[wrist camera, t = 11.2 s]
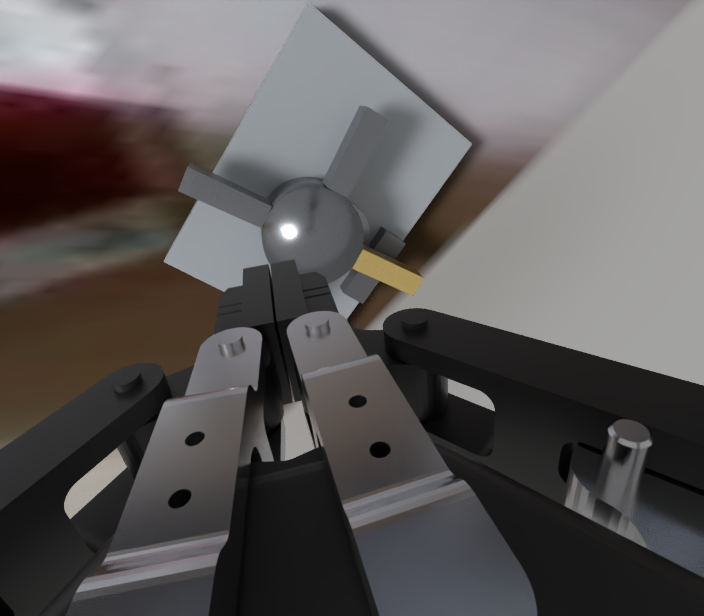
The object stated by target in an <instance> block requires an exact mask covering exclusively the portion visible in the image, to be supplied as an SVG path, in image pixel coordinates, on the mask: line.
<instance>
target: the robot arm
mask: <svg viewBox="0 0 704 616" xmlns="http://www.w3.org/2000/svg"><path fill="white" fill-rule="evenodd" d="M270 266H271V273H270V268H269V265H268V264H265V265H260V266H255V267H249V268H244V269H243V285H242V286H237V287H232V288H228V289H227V290H226V291H225V292H224V293H223V294H222V295H221V296H220V297H219V304H218V311H217V319H216V326H215V334H214V335H213V336H211V337H210V338H208V339H207V340H206V341H205V342H204V343H203V344H202V345H201V347H200V349H199V352H198V356H197V359H196V362H195V365H193V366H191V367H189V368H187V369H184V370H182V371H179V372H177V373H174V374H172V375H169V376H167V377H165V374H164V372H163V369H162V368H161V367H160V366H159V365H156V364H153V363H139V364H134V365H130V366H127V367H124V368H121V369H119V370H117V371H115V372H113V373H111V374H109V375H108V376H106V377H105V378H103V379H102V380H100V381H99V382H97V383H96V384H95V385H93V386H92V387H90V388H89V389H87V390H86V391H84V392H83V393H82V394H80V395H79V396H77V397H76V398H74V399H73V400H71V401H70V402H69V403H67V404H66V405H64V406H63V407H61V408H60V409H58V410H57V411H56V412H54V413H53V414H51V415H50V416H48V417H47V418H45V419H44V420H43V421H41V422H40V423H38V424H37V425H35V426H34V427H32V428H31V429H30V430H28V431H27V432H25V433H24V434H22V435H21V436H19V437H18V438H17V439H15V440H14V441H12V442H11V443H9V444H8V445H6V446H5V447H4V448H2V449H1V450H0V616H704V386H703V385H699V384H696V383H692V382H689V381H685V380H681V379H678V378H674V377H670V376H667V375H663V374H660V373H656V372H652V371H649V370H645V369H642V368H638V367H634V366H631V365H627V364H623V363H620V362H616V361H613V360H609V359H606V358H601V357H598V356H595V355H591V354H587V353H584V352H580V351H577V350H573V349H569V348H566V347H562V346H558V345H555V344H551V343H548V342H544V341H541V340H537V339H533V338H529V337H526V336H523V335H519V334H515V333H512V332H508V331H504V330H501V329H497V328H494V327H490V326H487V325H483V324H479V323H476V322H472V321H468V320H465V319H461V318H458V317H454V316H450V315H447V314H443V313H440V312H436V311H432V310H428V309H421V308H420V309H419V308H414V309H405V310H401V311H398V312H396V313H393V314H392V315H390V316H389V317H387V318H386V320H385V321H384V323H383V330H360V329H356V328H353V327H350V325H349V323H348V321H347V320H346V318H345V317H344V316H343V315H341V314H339V312H338V309H337V307H336V304H335V301H334V299H333V296H332V294H331V291H330V288H329V286H328V283H327V280H326V278H325V277H324V276H322V275H321V274H319V273H317V272H310V273H305V274H300V275H299V274H298V270H297V266H296V262H295V259H292V260H287V261H281V262H276V263H271V264H270ZM271 275H272V277H271ZM289 377H290V380H289ZM448 379H451V380H454V381H456V382H459V383H462V384H464V385H467V386H470V387H472V388H475V389H477V390H480V391H482V392H483V393H485V394H486V395H487V396H488V397H489V398H490V399H491V401H492V402H493V404H494V407H495V411H492V410H490V409H487V408H484V407H482V406H479V405H477V404H474V403H472V402H469V401H467V400H464V399H462V398H459V397H457V396H454V395H452V394H449V393H448ZM290 381H291V386H292V390H293V394H294V399H295V402H296V401H301V400H302V404H303V407H304V413H305V417H306V422H307V426H308V430H309V433H310V437H311V440H312V444H313V447H314V449H313V450H311V451H309V452H307V453H305V454H302V455H300V456H298V457H296V458H294V459H291V460H287V461H285V426H284V421H283V415H284V410H283V405H284V404H288V403H293V402H292V395H291V387H290ZM116 448H117V449H118V450H119V452H120V454H121V456H122V458H123V460H124V462H125V464H126V466H127V468H126V469H125V470H124V471H123V472H122V473H121V474H119V475H118V476H117V477H116V478H115V479H114V480H113V481H112V482H111V483H110V484H108V485H107V486H106V487H105V488H104V489H103V490H102V491H101V492H100V493H99V494H97V495H96V496H95V497H94V498H93V499H92V500H91V501H90V502H89V503H88V504H86V505H85V506H84V507H83V508H82V509H81V510H80V511H79V512H78V513H77V514H76V515H74V516H73V517H72V518H71V519H69V517H68V516H67V514H66V513H65V510H64V501H65V498H66V495H67V493H68V492H69V490H70V489H71V487H72V486H73V485H74V484H75V483H76V482H77V481H78V480H80V479H81V478H82V477H83V476H84V475H85V474H87V473H88V472H89V471H90V470H91V469H92V468H94V467H95V466H96V465H97V464H98V463H99V462H101V461H102V460H103V459H104V458H105V457H107V456H108V455H109V454H110V453H111V452H112V451H114V450H115V449H116Z"/></svg>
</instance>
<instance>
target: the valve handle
mask: <svg viewBox="0 0 704 616" xmlns="http://www.w3.org/2000/svg"><path fill="white" fill-rule="evenodd" d="M387 121H388V119H387V118H385V117H383V116H382V115H380V114H379V113H377V112H375V111H374V110H372V109H371V108H369V107H367V106H359V108H358V110H357V112H356V114H355V116H354V118H353V120H352V122H351V124H350V126H349V128H348V130H347V132H346V134H345V136H344V138H343V140H342V142H341V144H340V147H339V149H338V151H337V153H336V155H335V157H334V159H333V161H332V163H331V165H330V167H329V169H328V171H327V173H326V175H325V177H324V179H323V180H322V179H318V178H314V177H299V178H294V179H291V180H288V181H286V182H284V183H282V184H281V185H279V186H278V187H277V188H275V189H274V190H273V191H272V192H271V194H270V195H269V196H268V198H265V197H263V196H261V195H259V194H257V193H255V192H252V191H250V190H248V189H246V188H244V187H242V186H240V185H238V184H236V183H233V182H231V181H229V180H227V179H225V178H223V177H221V176H219V175H217V174H215V173H212V172H210V171H208V170H206V169H204V168H202V167H200V166H198V165H196V164H194V163H191V162H190V164H189V165H188V167H187V169H186V172H185V174H184V177H183V179H182V182H181V184H180V187H179V190H178V191H179V192H181V193H184V194H186V195H188V196H190V197H192V198H195V199H197V200H199V201H201V202H204V203H206V204H208V205H210V206H213V207H215V208H217V209H219V210H222V211H224V212H226V213H228V214H231V215H233V216H235V217H237V218H240V219H242V220H244V221H246V222H249V223H251V224H253V225H255V226H258V227H260V229H261V237H262V244H263V249H264V253H265V256H266V258H267V260H268V262H269V264H271V263H276V262H281V261H287V260H292V259H295V262H296V266H297V270H298V274H299V275H300V274H305V273H310V272H317V273H319V274H321V275H322V276H324V277H325V278H326V280H327V283H331V282H333V281H335V280H337V279H339V278H341V277H342V276H343V275H345V274H346V273H347V272H348V271H350V270H351V269H354V270H356V271H359V272H361V273H363V274H365V275H368V276H370V277H372V278H374V279H377V280H379V281H381V282H383V283H386V284H388V285H390V286H392V287H395V288H397V289H399V290H401V291H403V292H406V293H408V294H410V295H414V294H415V292H416V291H417V289H418V287H419V286H420V284H421V282H422V281H423V279H424V278H423V277H422V276H421V275H420V273H419V272H418V271H417V270H416V269H414V268H412V267H410V266H408V265H406V264H404V263H402V262H400V261H397V260H395V259H393V258H391V257H389V256H387V255H385V254H383V253H381V252H379V251H376V250H374V249H372V248H370V247H369V244H370V228H369V224H368V221H367V219H366V217H365V216H364V214H363V213H362V212H361V211H360V210H359V209H358V208H357V207H356V206H355V205H354V204H353V203H352V202H350V201H348V200H347V198H348V197H349V195H350V193H351V191H352V189H353V187H354V186H355V184H356V182H357V180H358V178H359V176H360V174H361V172H362V170H363V168H364V166H365V164H366V162H367V160H368V158H369V156H370V154H371V153H372V151H373V149H374V147H375V145H376V143H377V141H378V139H379V137H380V135H381V133H382V131H383V129H384V127H385V125H386V123H387ZM346 197H347V198H346Z"/></svg>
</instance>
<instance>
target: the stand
mask: <svg viewBox="0 0 704 616" xmlns="http://www.w3.org/2000/svg"><path fill="white" fill-rule="evenodd" d="M359 106H367V107H369V108H371V109H372V110H374V111H375V112H377V113H379V114H380V115H382V116H383V117H385V118H387V119H388V121H387V123H386V125H385V127H384V129H383V131H382V133H381V135H380V137H379V139H378V141H377V143H376V145H375V147H374V149H373V151H372V153H371V154H370V156H369V158H368V160H367V162H366V164H365V166H364V168H363V170H362V172H361V174H360V176H359V178H358V180H357V182H356V184H355V186H354V187H353V189H352V191H351V193H350V195H349V197H348V198H347V197H346V198H347V200H348V201H350V202H352V203H353V204H354V205H355V206H356V207H357V208H358V209H359V210H360V211H361V212H362V213H363V214H364V216H365V217H366V219H367V221H368V224H369V228H370V244H369V247H370V248H372V249H374V250H376V251H379V252H381V253H383V254H385V255H387V256H389V257H391V258H393V259H396V257H397V256H398V254H399V253H400V252H401V250H402V249H403V247H404V246H405V245H406V244H405V243H404V242H403V240H404V239H405V237H406V236H407V234H408V233H409V232H410V230H411V229H412V227H413V226H414V225H415V223H416V222H417V221H418V219H419V218H420V216H421V215H422V214H423V212H424V211H425V209H426V208H427V207H428V205H429V204H430V202H431V201H432V200H433V198H434V197H435V195H436V194H437V193H438V191H439V190H440V188H441V187H442V186H443V184H444V183H445V181H446V180H447V179H448V177H449V176H450V174H451V173H452V172H453V170H454V169H455V167H456V166H457V165H458V163H459V162H460V160H461V159H462V158H463V156H464V155H465V153H466V152H467V151H468V149H469V148H470V146H471V145H472V143H471V142H470V141H468V140H467V139H466V138H465V137H464V136H463V135H461V134H460V133H459V132H458V131H457V130H456V129H455V128H453V127H452V126H451V125H450V124H449V123H448V122H446V121H445V120H444V119H443V118H442V117H441V116H440V115H438V114H437V113H436V112H435V111H434V110H433V109H432V108H430V107H429V106H428V105H427V104H426V103H425V102H423V101H422V100H421V99H420V98H419V97H418V96H417V95H415V94H414V93H413V92H412V91H411V90H410V89H408V88H407V87H406V86H405V85H404V84H403V83H402V82H400V81H399V80H398V79H397V78H396V77H395V76H393V75H392V74H391V73H390V72H389V71H388V70H387V69H385V68H384V67H383V66H382V65H381V64H380V63H378V62H377V61H376V60H375V59H374V58H373V57H372V56H370V55H369V54H368V53H367V52H366V51H365V50H363V49H362V48H361V47H360V46H359V45H358V44H357V43H355V42H354V41H353V40H352V39H351V38H350V37H349V36H347V35H346V34H345V33H344V32H343V31H342V30H340V29H339V28H338V27H337V26H336V25H335V24H334V23H332V22H331V21H330V20H329V19H328V18H327V17H325V16H324V15H323V14H322V13H321V12H320V11H319V10H317V9H316V8H315V7H314V6H313V5H312V4H310V3H308V4H307V5H306V7H305V8H304V10H303V12H302V14H301V15H300V17H299V19H298V21H297V23H296V24H295V26H294V28H293V30H292V32H291V33H290V35H289V37H288V39H287V40H286V42H285V44H284V46H283V48H282V49H281V51H280V53H279V55H278V57H277V58H276V60H275V62H274V64H273V65H272V67H271V69H270V71H269V73H268V74H267V76H266V78H265V80H264V82H263V83H262V85H261V87H260V89H259V90H258V92H257V94H256V96H255V98H254V99H253V101H252V103H251V105H250V107H249V108H248V110H247V112H246V114H245V115H244V117H243V119H242V121H241V123H240V124H239V126H238V128H237V130H236V132H235V133H234V135H233V137H232V139H231V140H230V142H229V144H228V146H227V148H226V149H225V151H224V153H223V155H222V157H221V158H220V160H219V162H218V164H217V165H216V167H215V169H214V171H213V173H215V174H217V175H219V176H221V177H223V178H225V179H227V180H229V181H231V182H233V183H236V184H238V185H240V186H242V187H244V188H246V189H248V190H250V191H252V192H255V193H257V194H259V195H261V196H263V197H265V198H268V196H269V195H270V194H271V192H272V191H273V190H274V189H275V188H277V187H278V186H279V185H281V184H282V183H284V182H286V181H288V180H291V179H294V178H299V177H314V178H318V179H322V180H323V179H324V177H325V175H326V173H327V171H328V169H329V167H330V165H331V163H332V161H333V159H334V157H335V155H336V153H337V151H338V149H339V147H340V144H341V142H342V140H343V138H344V136H345V134H346V132H347V130H348V128H349V126H350V124H351V122H352V120H353V118H354V116H355V114H356V112H357V110H358V108H359ZM164 262H165V263H167V264H169V265H171V266H173V267H175V268H177V269H179V270H181V271H183V272H185V273H187V274H189V275H191V276H193V277H195V278H197V279H199V280H201V281H203V282H205V283H207V284H209V285H211V286H214V287H216V288H218V289H220V290H222V291H224V292H225V291H226V290H227V289H228V288H232V287H237V286H242V285H243V269H244V268H249V267H255V266H260V265H265V264H268V265H269V268H270V273H271V266H270V264H269V262H268V260H267V258H266V256H265V253H264V249H263V244H262V237H261V229H260V227H258V226H255V225H253V224H251V223H249V222H246V221H244V220H242V219H240V218H237V217H235V216H233V215H231V214H228V213H226V212H224V211H222V210H219V209H217V208H215V207H213V206H210V205H208V204H206V203H204V202H201V201H199V200H197V201H196V203H195V205H194V207H193V208H192V210H191V212H190V214H189V215H188V217H187V219H186V221H185V223H184V224H183V226H182V228H181V230H180V232H179V233H178V235H177V237H176V239H175V240H174V242H173V244H172V246H171V248H170V249H169V251H168V253H167V255H166V257H165V259H164ZM271 277H272V275H271ZM378 282H379V280H377V279H374V278H372V277H370V276H368V275H365V274H363V273H361V272H359V271H356V270H354V269H351V270H350V271H348V272H347V273H346V274H345V275H343V276H342V277H341V278H339V279H337V280H335V281H333V282H331V283H328V286H329V288H330V291H331V294H332V296H333V299H334V301H335V304H336V307H337V309H338V312H339V314H341V315H343V316H344V317H345V318H346V320H347V318H348V317H349V316H350V314H351V313H352V311H353V310H354V309H355V307H356V306H357V304H358V303H359V302H360V303H362V304H363V303H364V302H365V300H366V299H367V297H368V296H369V295H370V293H371V292H372V290H373V289H374V288H375V286H376V285H377V284H378Z"/></svg>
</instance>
